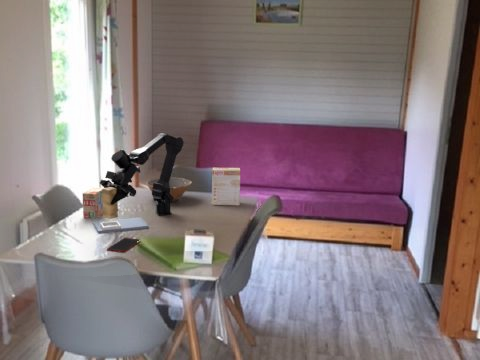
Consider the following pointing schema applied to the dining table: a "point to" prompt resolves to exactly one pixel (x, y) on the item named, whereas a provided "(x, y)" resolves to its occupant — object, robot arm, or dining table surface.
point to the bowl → (173, 186)
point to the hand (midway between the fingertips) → (107, 203)
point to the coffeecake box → (226, 186)
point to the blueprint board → (120, 225)
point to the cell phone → (123, 245)
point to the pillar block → (109, 203)
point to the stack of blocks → (92, 203)
